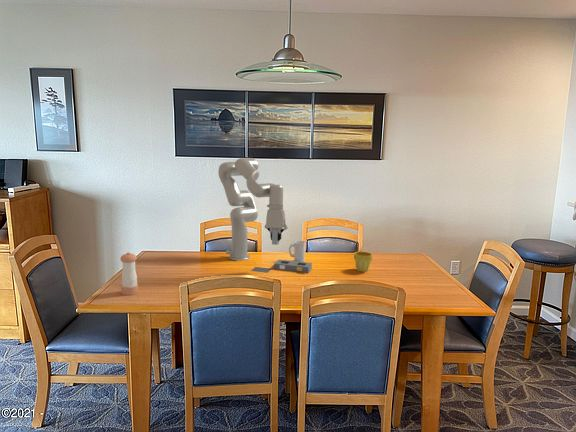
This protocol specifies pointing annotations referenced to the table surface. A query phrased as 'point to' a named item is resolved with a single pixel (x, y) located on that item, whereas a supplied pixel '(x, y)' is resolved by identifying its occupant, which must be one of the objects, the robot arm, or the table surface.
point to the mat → (261, 269)
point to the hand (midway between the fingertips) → (275, 239)
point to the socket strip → (293, 266)
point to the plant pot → (362, 260)
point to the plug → (275, 236)
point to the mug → (298, 251)
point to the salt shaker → (129, 274)
